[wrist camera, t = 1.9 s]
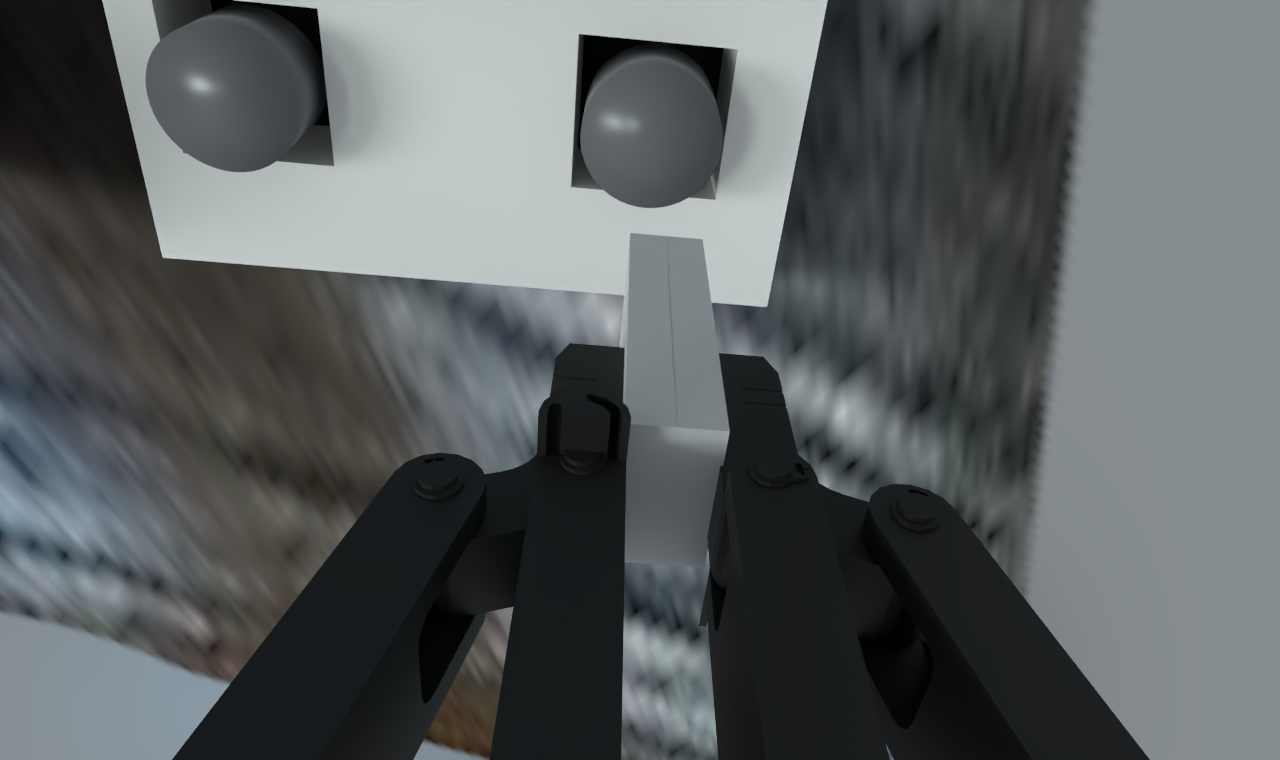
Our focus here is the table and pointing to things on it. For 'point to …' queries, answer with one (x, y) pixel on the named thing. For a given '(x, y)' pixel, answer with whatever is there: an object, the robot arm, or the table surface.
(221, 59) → the dark grey rounded piece
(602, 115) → the grey dome
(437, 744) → the table surface
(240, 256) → the white rectangular box
